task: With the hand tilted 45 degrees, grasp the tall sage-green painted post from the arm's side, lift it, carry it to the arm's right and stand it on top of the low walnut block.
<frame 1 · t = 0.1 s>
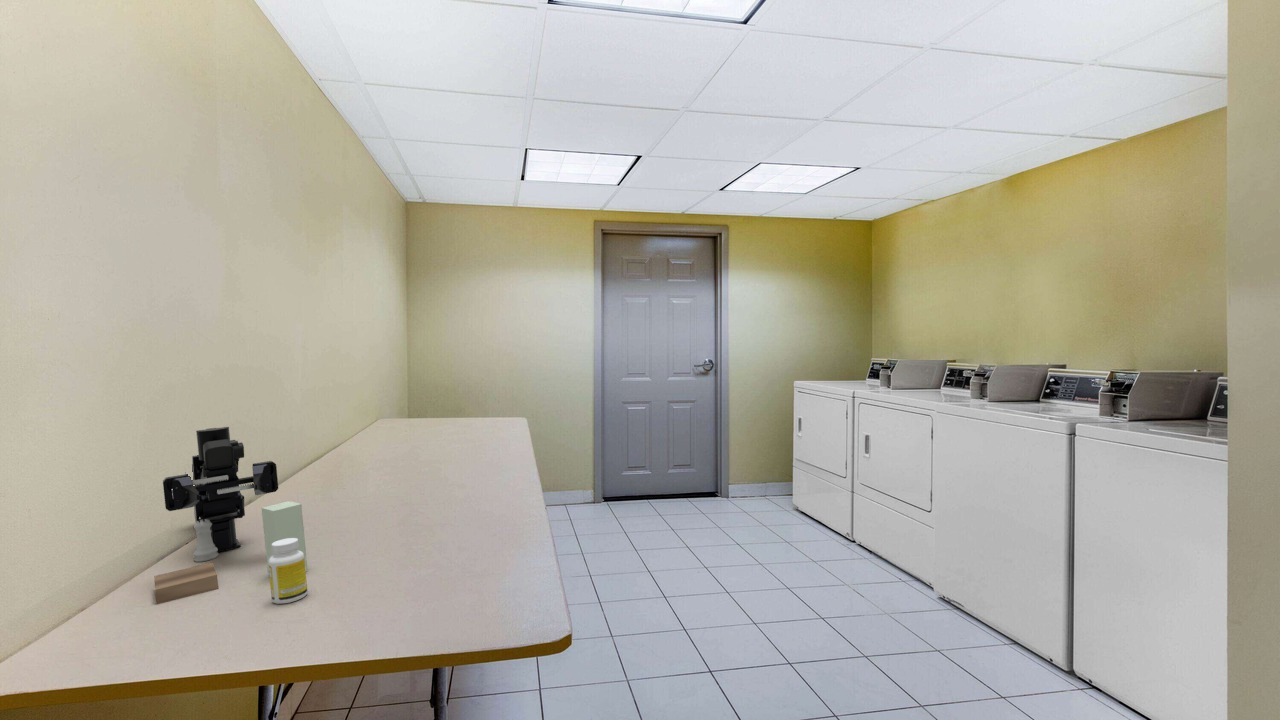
hand: (227, 491, 121), 17 cm above the table, tool horizontal, fingers open, 9 cm apart
walnut block: (187, 591, 118), on the table
sage post: (288, 573, 123), on the table
supplement bottle: (290, 599, 110), on the table
rook chess piece: (206, 559, 135), on the table
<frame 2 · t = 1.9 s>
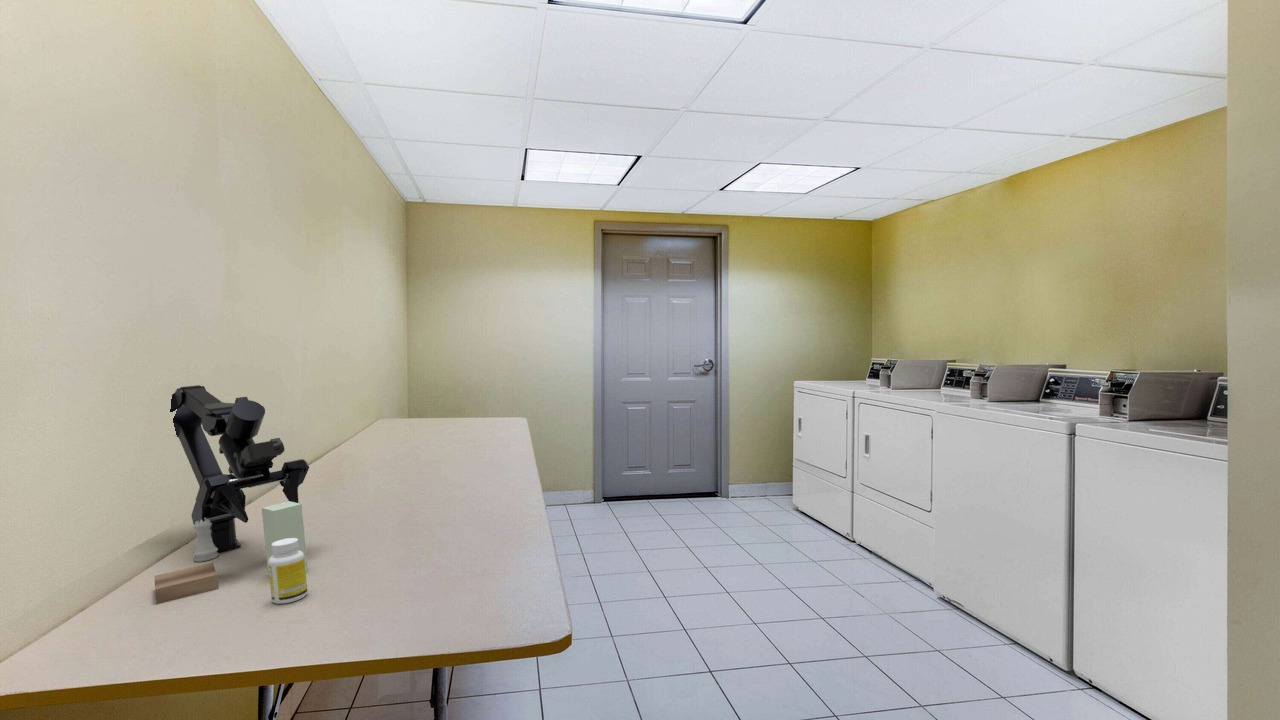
hand: (272, 514, 125), 11 cm above the table, tool tilted 45°, fingers open, 9 cm apart
nothing on the table moved.
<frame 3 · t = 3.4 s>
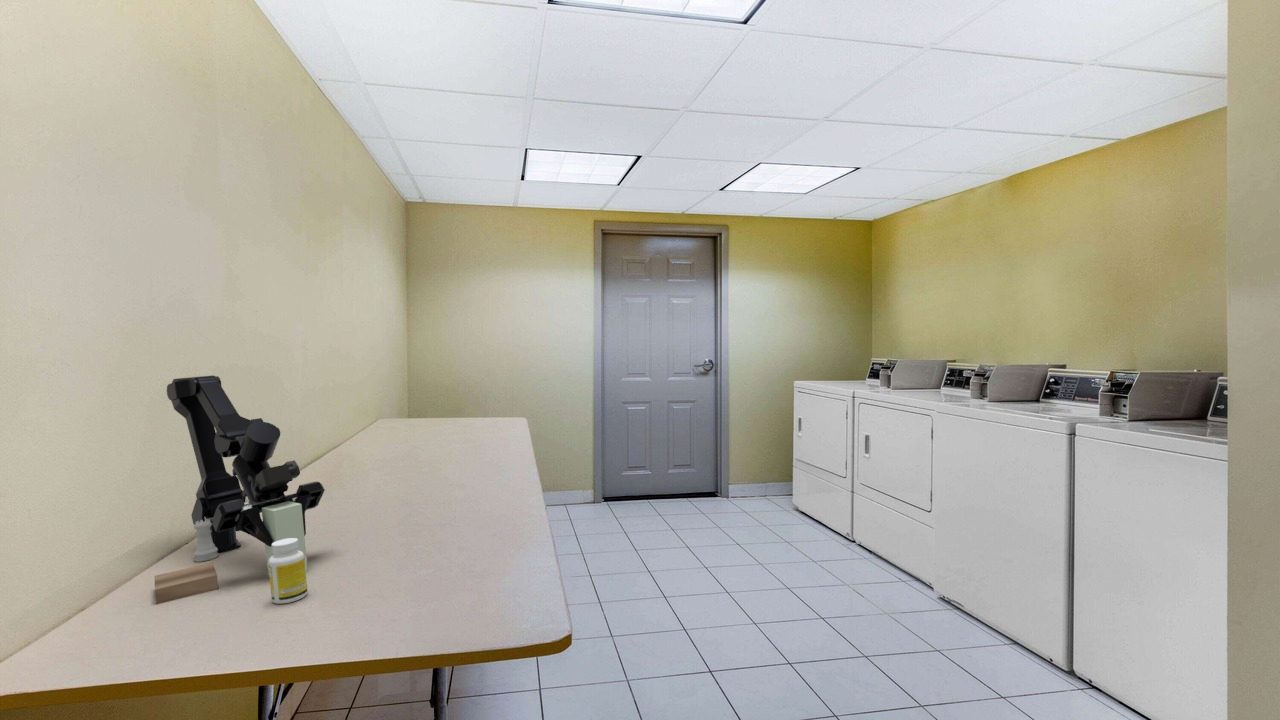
hand: (288, 540, 121), 7 cm above the table, tool tilted 45°, fingers open, 6 cm apart
sage post: (288, 573, 123), on the table, touching gripper
everything else where it was.
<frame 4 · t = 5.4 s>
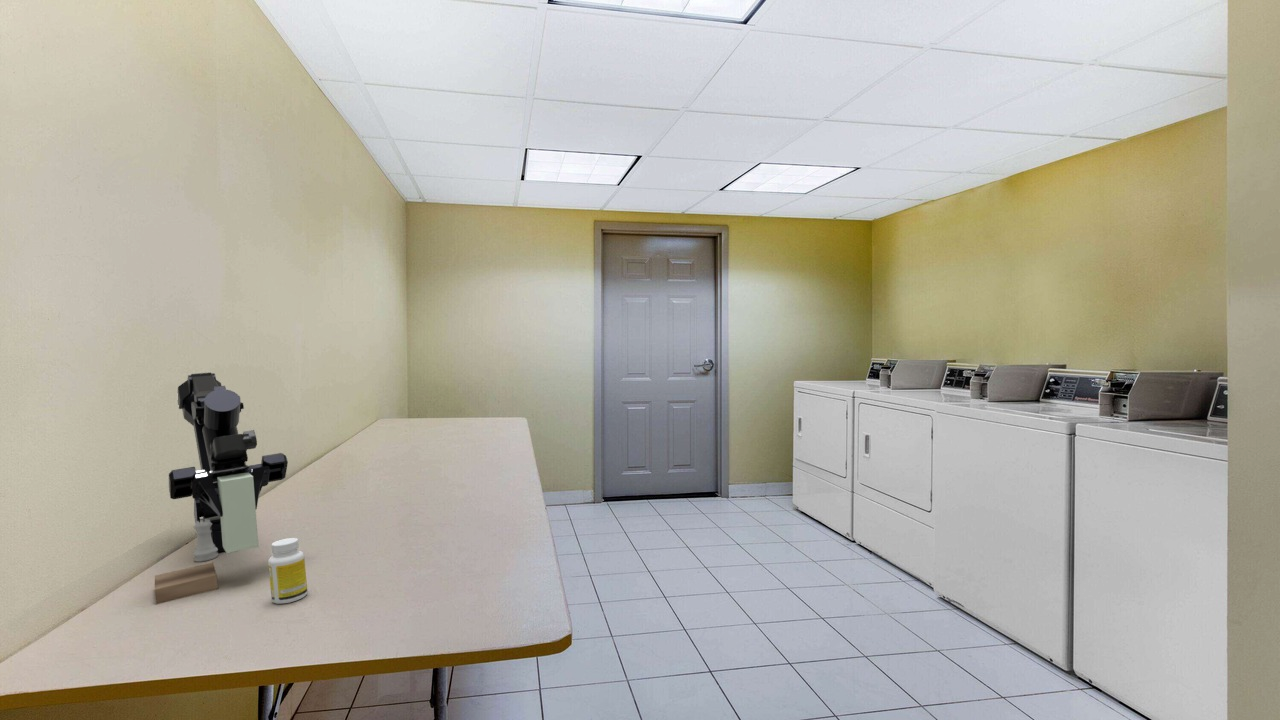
hand: (238, 511, 118), 13 cm above the table, tool tilted 45°, fingers closed on sage post, 5 cm apart
sage post: (240, 546, 119), point 7 cm above the table, touching gripper
everything else where it was.
when the fingers open (10 cm above the table, at t = 7.0 s): sage post drops 1 cm, point 3 cm above the table.
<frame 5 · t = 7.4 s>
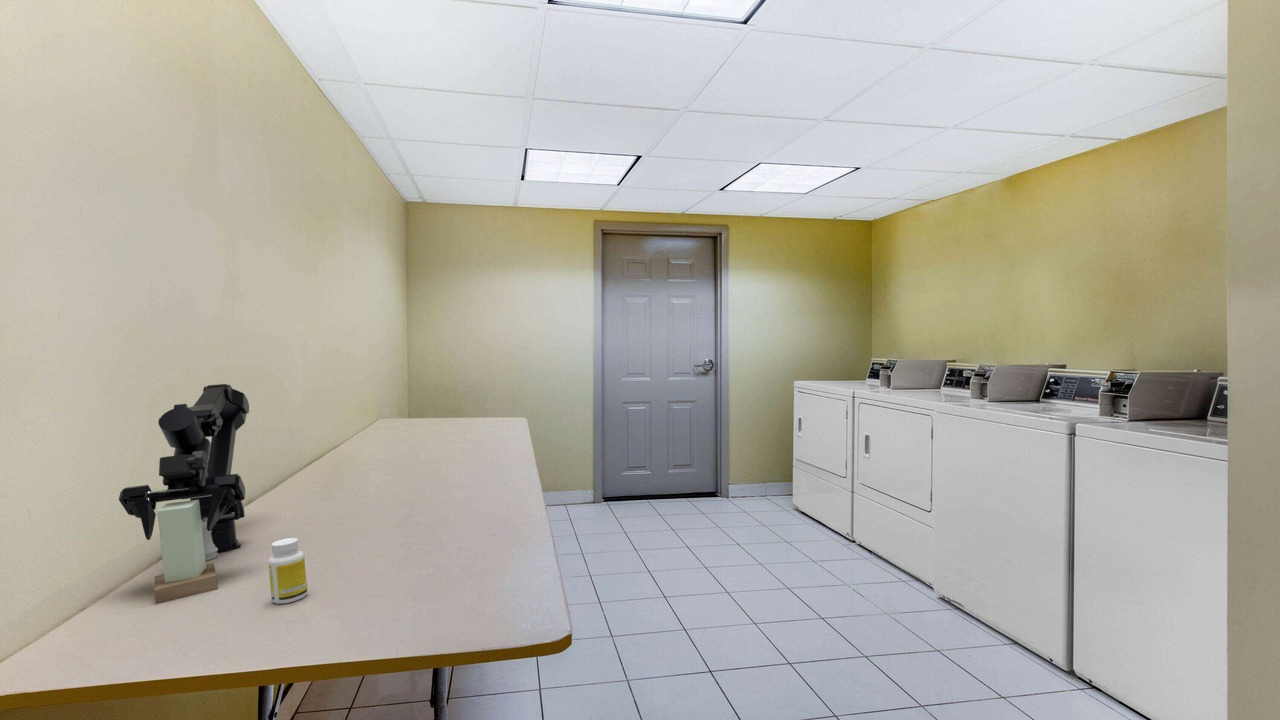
hand: (178, 534, 116), 11 cm above the table, tool tilted 45°, fingers open, 9 cm apart
sage post: (186, 574, 118), point 3 cm above the table
everything else where it was.
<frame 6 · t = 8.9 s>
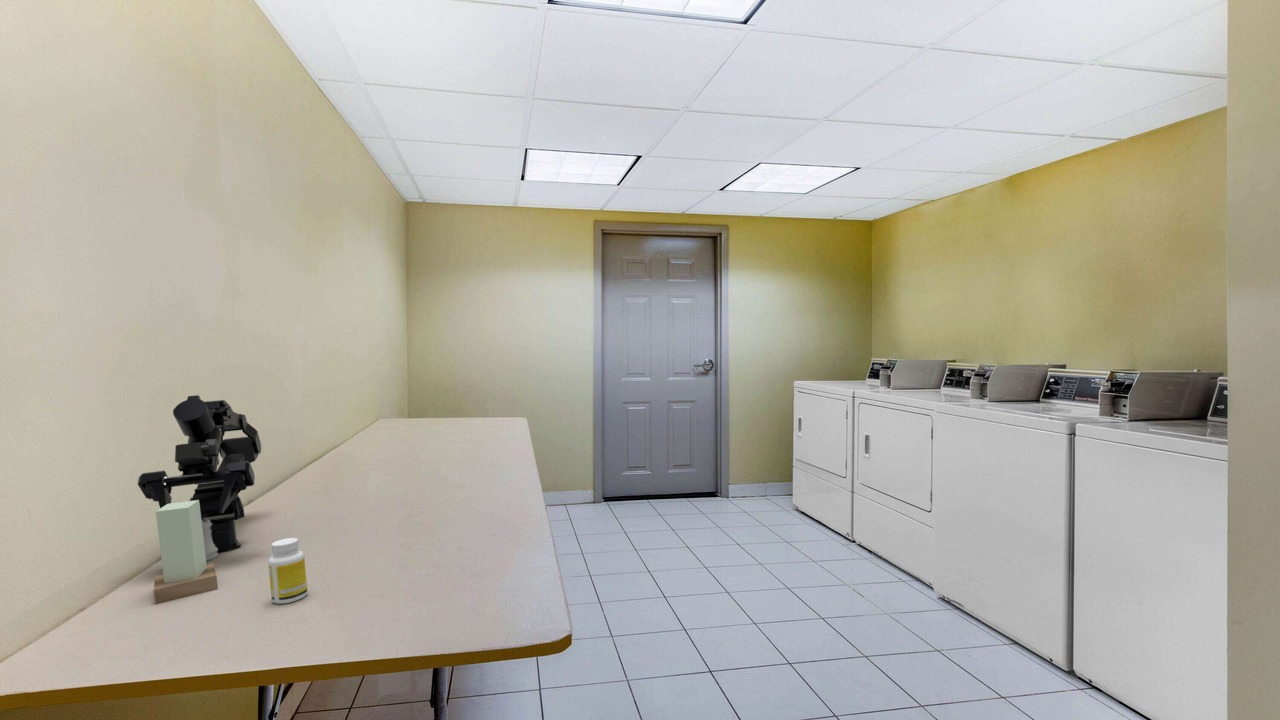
hand: (193, 516, 125), 11 cm above the table, tool tilted 45°, fingers open, 9 cm apart
walnut block: (186, 591, 118), on the table, touching sage post
sage post: (186, 575, 118), point 3 cm above the table, touching walnut block
everything else where it was.
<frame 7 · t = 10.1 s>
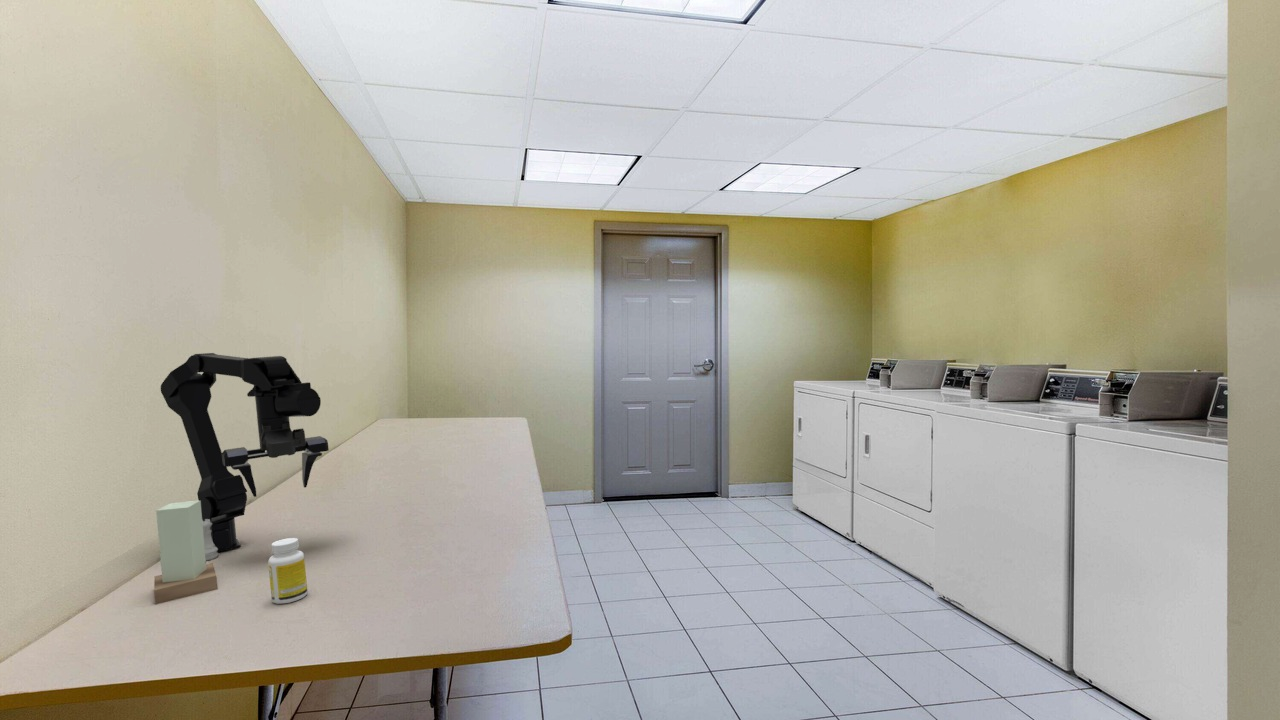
hand: (280, 491, 134), 13 cm above the table, tool pointing down, fingers open, 9 cm apart
walnut block: (186, 592, 118), on the table
sage post: (185, 575, 118), point 2 cm above the table
rook chess piece: (206, 559, 135), on the table, touching arm
everything else where it was.
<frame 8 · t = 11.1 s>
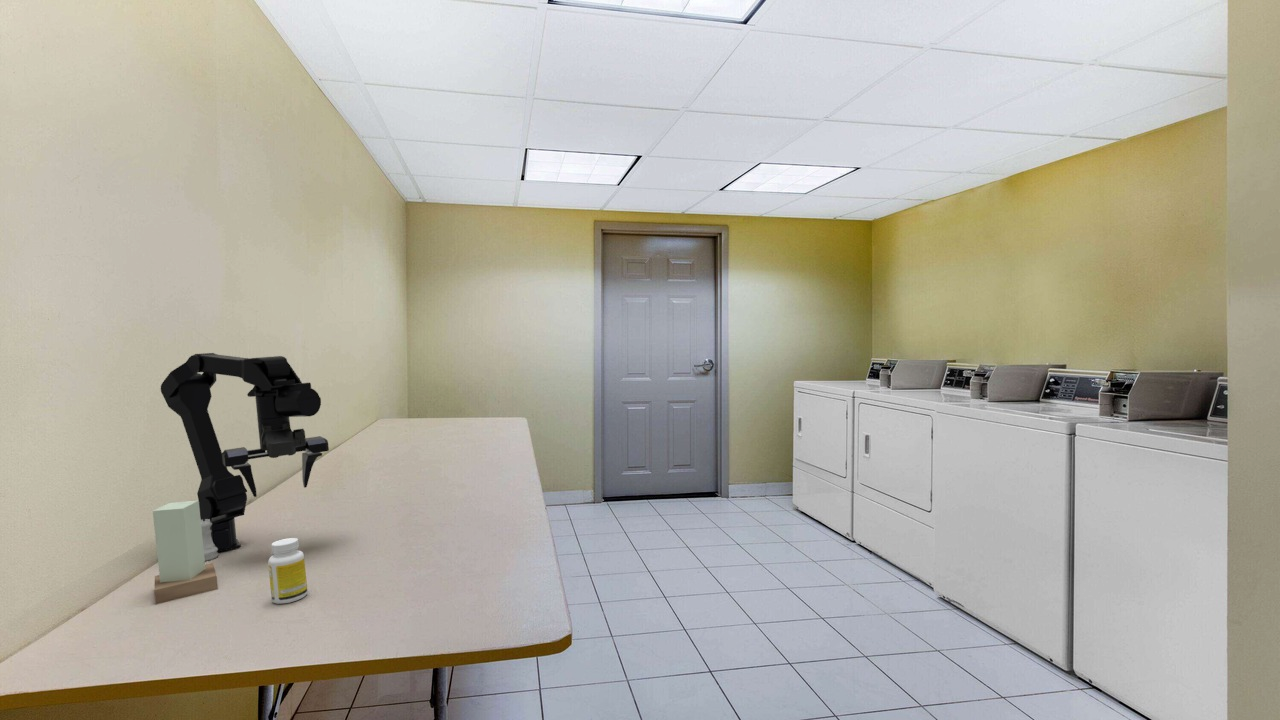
hand: (280, 491, 134), 13 cm above the table, tool pointing down, fingers open, 9 cm apart
nothing on the table moved.
at the end: sage post inside the target area on the walnut block (0.3 cm from its centre), point 3.0 cm above the walnut block's base; sage post tilted 0°; the gripper is holding nothing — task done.
